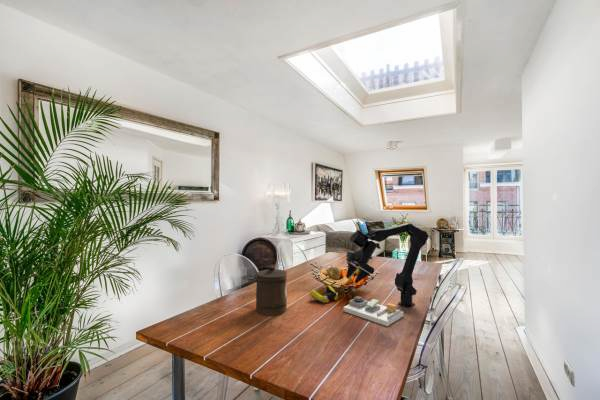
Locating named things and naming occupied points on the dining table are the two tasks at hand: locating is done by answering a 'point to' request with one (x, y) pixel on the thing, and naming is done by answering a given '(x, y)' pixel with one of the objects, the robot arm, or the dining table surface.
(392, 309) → the orange rectangular block
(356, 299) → the push button
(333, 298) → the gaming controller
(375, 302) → the rocker
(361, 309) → the panel
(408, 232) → the robot arm
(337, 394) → the dining table surface
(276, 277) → the wooden container
